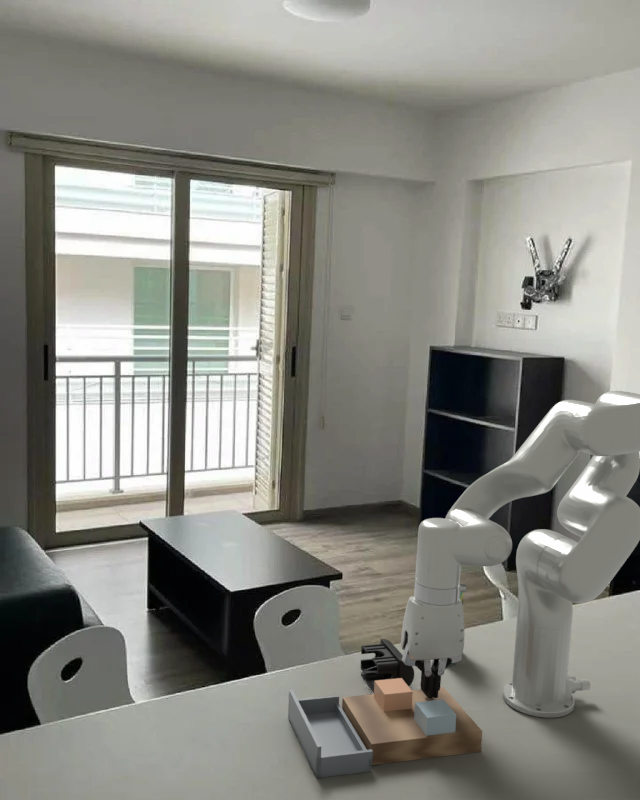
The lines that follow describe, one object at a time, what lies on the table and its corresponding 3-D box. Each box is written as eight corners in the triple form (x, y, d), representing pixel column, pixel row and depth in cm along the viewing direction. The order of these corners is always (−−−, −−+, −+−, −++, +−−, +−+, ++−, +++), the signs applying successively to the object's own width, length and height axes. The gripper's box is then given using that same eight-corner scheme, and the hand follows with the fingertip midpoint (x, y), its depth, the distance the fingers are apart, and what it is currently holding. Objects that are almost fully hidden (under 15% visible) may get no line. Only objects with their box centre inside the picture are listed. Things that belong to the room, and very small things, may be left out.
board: (442, 705, 146) (443, 687, 146) (480, 751, 132) (482, 730, 131) (341, 716, 141) (342, 697, 140) (370, 765, 127) (371, 744, 126)
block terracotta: (400, 694, 142) (401, 678, 142) (411, 708, 137) (412, 691, 137) (373, 697, 141) (374, 680, 141) (383, 711, 136) (384, 694, 136)
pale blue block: (442, 716, 135) (443, 699, 135) (455, 732, 130) (456, 714, 130) (414, 719, 134) (415, 702, 134) (426, 735, 129) (427, 717, 129)
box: (337, 712, 142) (338, 685, 142) (371, 771, 125) (373, 740, 124) (288, 717, 140) (289, 689, 139) (316, 778, 123) (317, 746, 122)
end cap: (413, 694, 150) (415, 659, 149) (377, 698, 148) (379, 663, 147) (393, 670, 159) (395, 637, 159) (359, 673, 157) (360, 640, 156)
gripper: (467, 582, 144) (460, 681, 147) (387, 586, 140) (381, 688, 142) (486, 597, 137) (479, 701, 139) (403, 603, 133) (397, 709, 135)
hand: (429, 694), depth 141 cm, fingers closed
